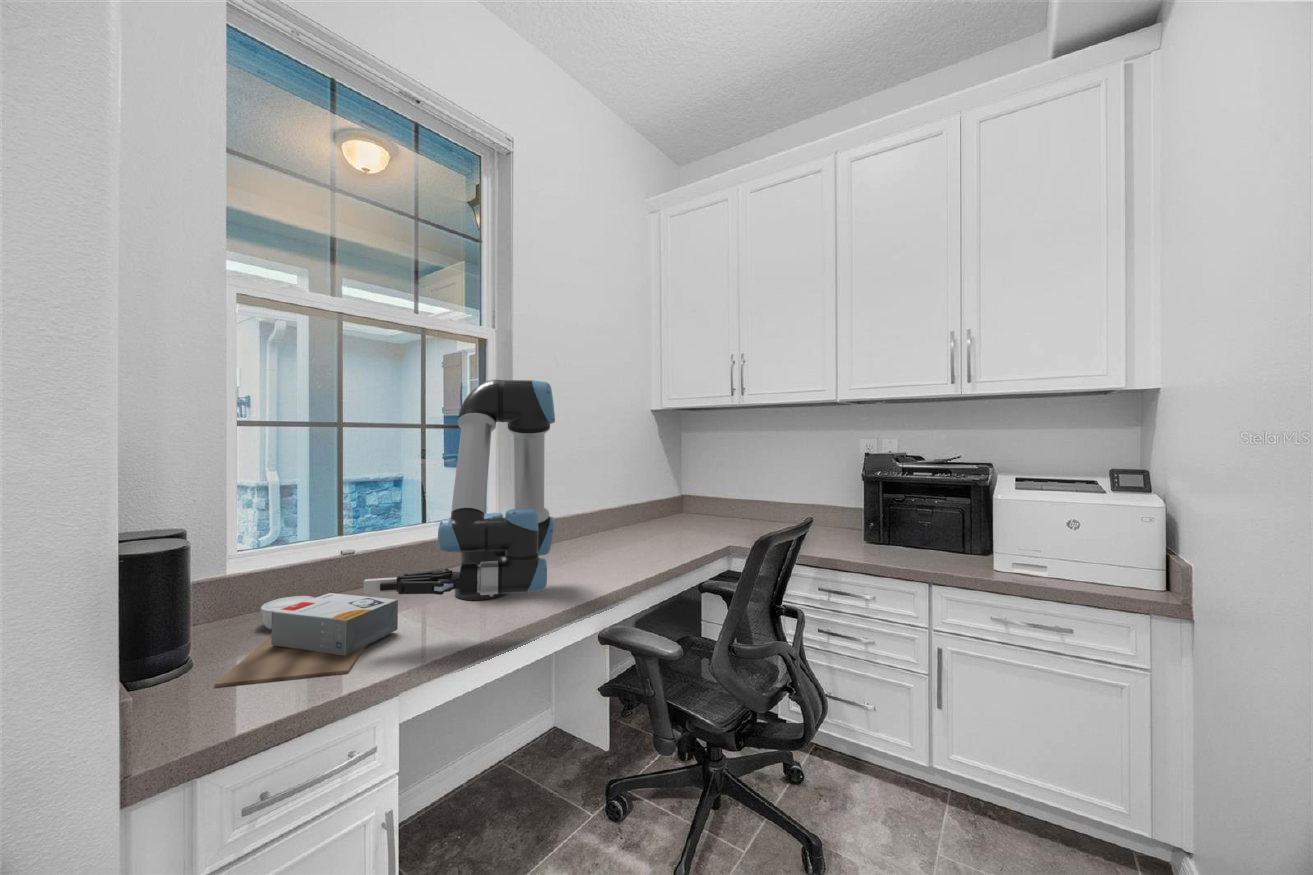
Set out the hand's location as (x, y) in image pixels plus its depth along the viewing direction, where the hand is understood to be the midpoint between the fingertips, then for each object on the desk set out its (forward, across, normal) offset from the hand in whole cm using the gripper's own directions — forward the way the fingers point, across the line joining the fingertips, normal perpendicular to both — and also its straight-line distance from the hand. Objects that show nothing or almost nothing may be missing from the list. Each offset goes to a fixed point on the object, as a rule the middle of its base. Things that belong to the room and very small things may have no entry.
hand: (364, 586), depth 113 cm
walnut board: (+11, +1, -14) cm, 18 cm away
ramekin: (+22, +23, -14) cm, 35 cm away
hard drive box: (-2, +2, -10) cm, 10 cm away
